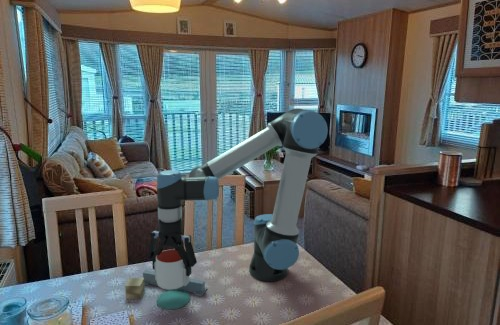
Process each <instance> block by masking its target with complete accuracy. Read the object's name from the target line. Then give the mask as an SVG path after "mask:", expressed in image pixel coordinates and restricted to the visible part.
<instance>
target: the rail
mask: <svg viewBox="0 0 500 325" xmlns="http://www.w3.org/2000/svg"><path fill="white" fill-rule="evenodd" d="M142 278H144V286H145V287H146V286H148V285H153V286H158V284H157V280H155V270H154V271H152V270H148V269H145V270H144V271H143V272H142ZM176 290H183V291H186V292H187V293H189V292H190V293H194V296H196V297H201V298H202V296H203V295H204V294H205V292H206V291H207V290H208V287H206V281H205V280H201V279H196V278H191V277H189V283H188V284H187V285H186V286H184V285H183V286H182V287H180V288H177V289H176Z"/></svg>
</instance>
